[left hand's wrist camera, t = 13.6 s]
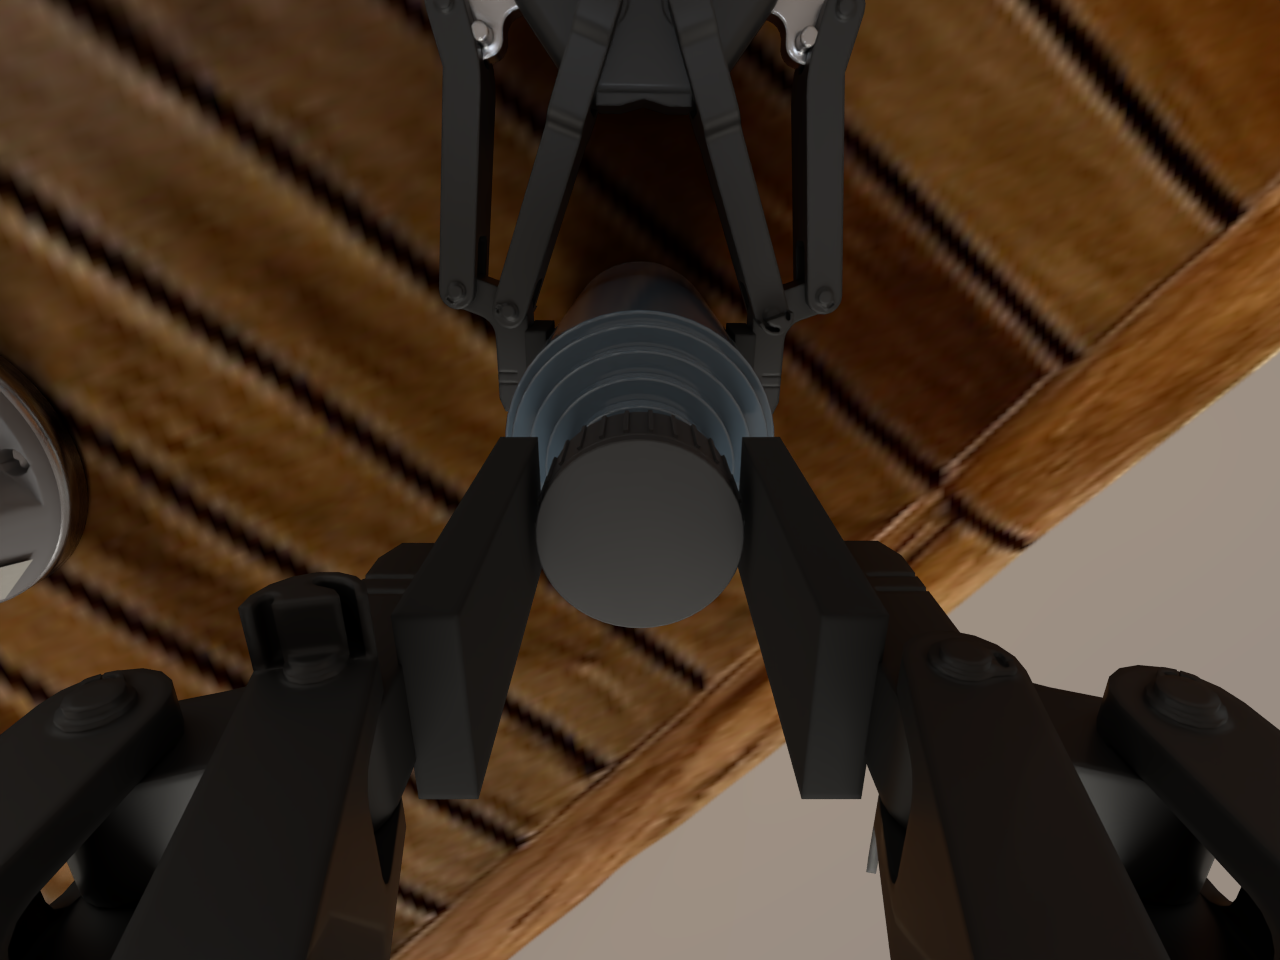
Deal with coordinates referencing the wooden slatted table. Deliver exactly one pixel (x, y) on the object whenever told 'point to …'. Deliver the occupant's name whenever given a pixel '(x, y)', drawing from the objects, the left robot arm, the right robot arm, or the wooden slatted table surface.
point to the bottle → (639, 366)
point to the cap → (639, 521)
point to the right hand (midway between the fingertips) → (638, 487)
